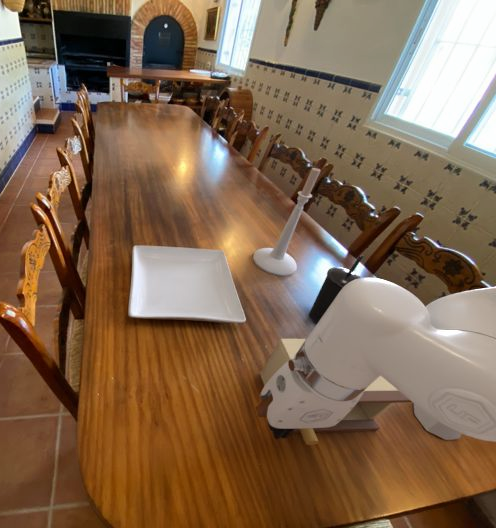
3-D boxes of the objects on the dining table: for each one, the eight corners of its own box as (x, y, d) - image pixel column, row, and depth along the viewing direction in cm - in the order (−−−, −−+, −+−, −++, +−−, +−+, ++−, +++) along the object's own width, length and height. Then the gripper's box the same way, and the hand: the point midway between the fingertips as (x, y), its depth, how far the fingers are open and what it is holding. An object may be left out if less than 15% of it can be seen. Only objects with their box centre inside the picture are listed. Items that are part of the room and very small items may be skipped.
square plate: (132, 254, 90) (132, 243, 87) (221, 259, 91) (224, 249, 88) (127, 325, 69) (128, 314, 66) (243, 331, 70) (248, 320, 67)
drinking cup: (311, 329, 72) (354, 267, 59) (298, 306, 77) (334, 244, 65) (341, 330, 72) (390, 268, 59) (326, 306, 78) (367, 245, 65)
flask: (422, 434, 54) (463, 410, 48) (405, 397, 60) (440, 370, 53) (466, 446, 53) (515, 422, 47) (445, 407, 59) (486, 381, 52)
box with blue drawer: (376, 431, 54) (419, 400, 46) (282, 433, 53) (311, 402, 45) (341, 372, 63) (372, 338, 55) (259, 373, 62) (280, 338, 54)
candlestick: (289, 252, 96) (333, 160, 77) (301, 278, 86) (355, 181, 67) (249, 247, 97) (283, 155, 77) (257, 273, 87) (298, 175, 68)
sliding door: (344, 448, 50) (375, 425, 44) (292, 450, 49) (317, 426, 43) (331, 422, 53) (358, 397, 47) (282, 423, 53) (304, 398, 47)
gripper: (284, 398, 32) (238, 456, 44) (409, 396, 34) (332, 453, 45) (260, 341, 38) (225, 405, 50) (368, 341, 39) (309, 404, 51)
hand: (276, 428), depth 48 cm, fingers closed
